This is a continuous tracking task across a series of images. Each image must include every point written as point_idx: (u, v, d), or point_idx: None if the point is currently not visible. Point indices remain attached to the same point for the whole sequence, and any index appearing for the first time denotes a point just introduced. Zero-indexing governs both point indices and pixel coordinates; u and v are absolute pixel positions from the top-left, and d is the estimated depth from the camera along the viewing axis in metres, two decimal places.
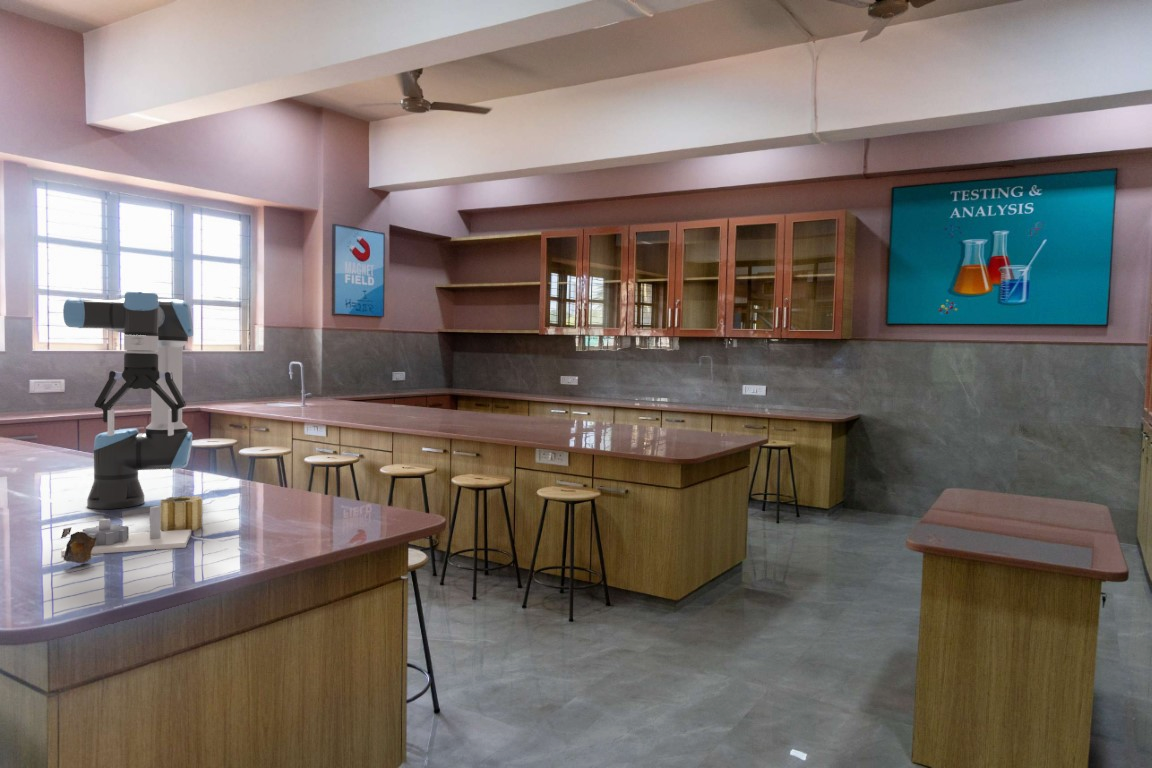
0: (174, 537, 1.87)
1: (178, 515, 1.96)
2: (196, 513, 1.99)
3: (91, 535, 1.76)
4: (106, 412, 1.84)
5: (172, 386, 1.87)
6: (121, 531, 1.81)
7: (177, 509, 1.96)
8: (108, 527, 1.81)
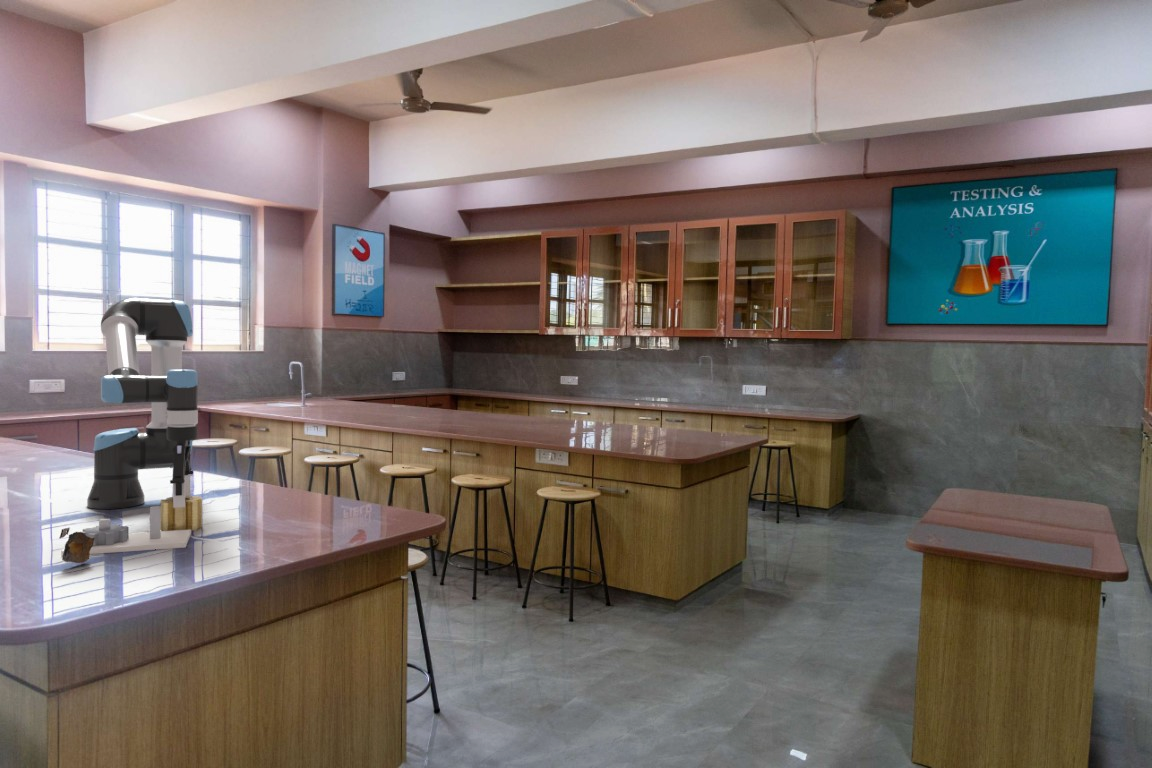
0: (174, 537, 1.87)
1: (178, 515, 1.96)
2: (196, 513, 1.99)
3: (91, 535, 1.76)
4: None
5: None
6: (121, 531, 1.81)
7: (177, 509, 1.96)
8: (108, 527, 1.81)
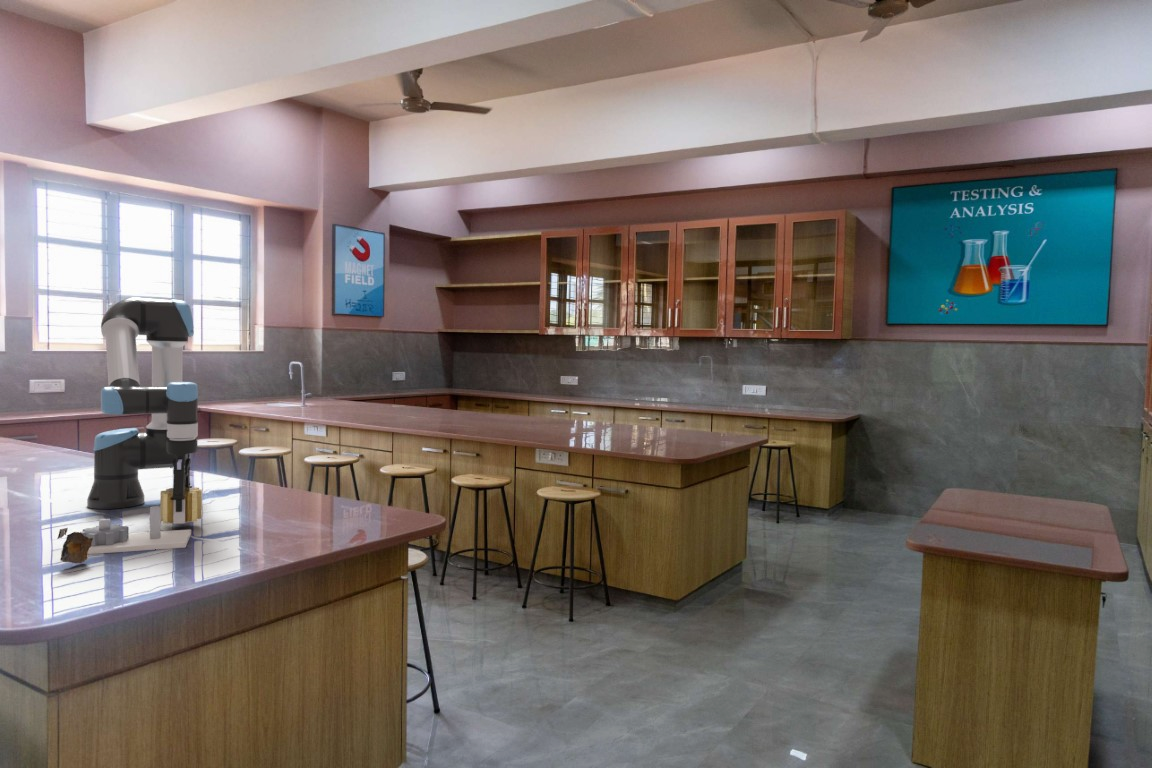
0: (174, 537, 1.87)
1: None
2: (196, 504, 1.99)
3: (91, 535, 1.76)
4: None
5: None
6: (121, 531, 1.81)
7: None
8: (108, 527, 1.81)
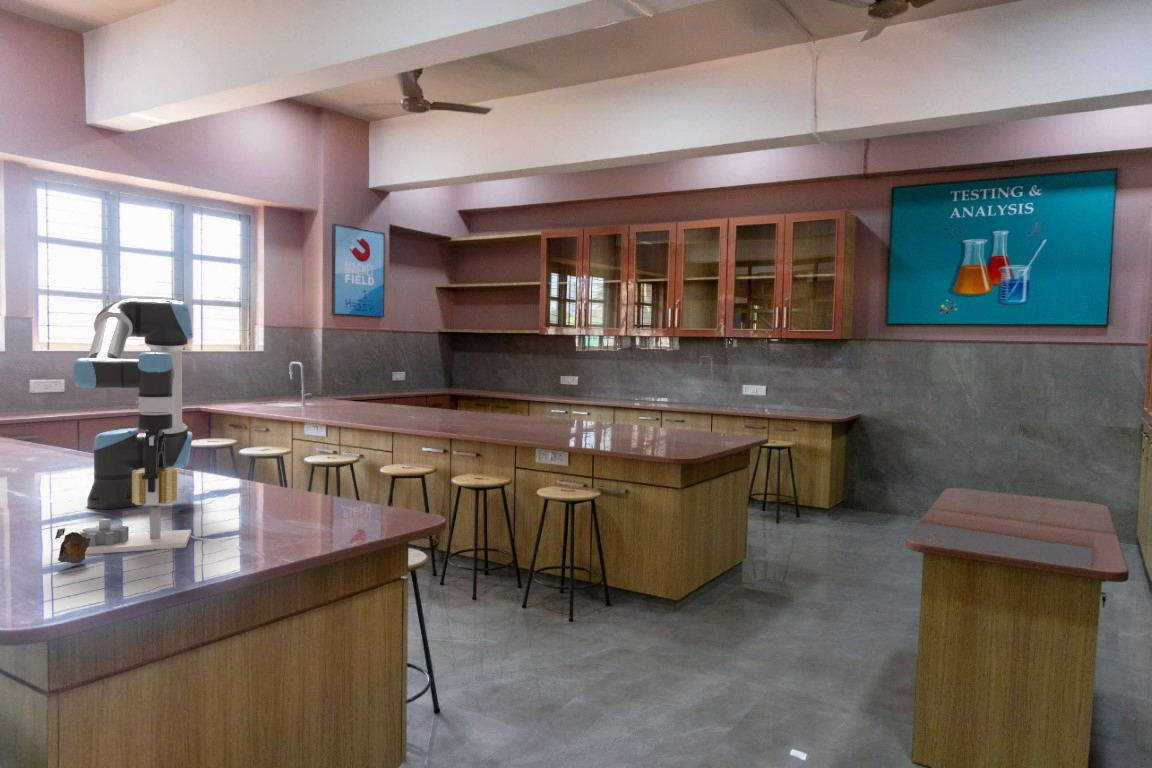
0: (174, 537, 1.87)
1: None
2: (171, 485, 1.83)
3: (91, 535, 1.76)
4: None
5: None
6: (121, 531, 1.81)
7: None
8: (108, 527, 1.81)
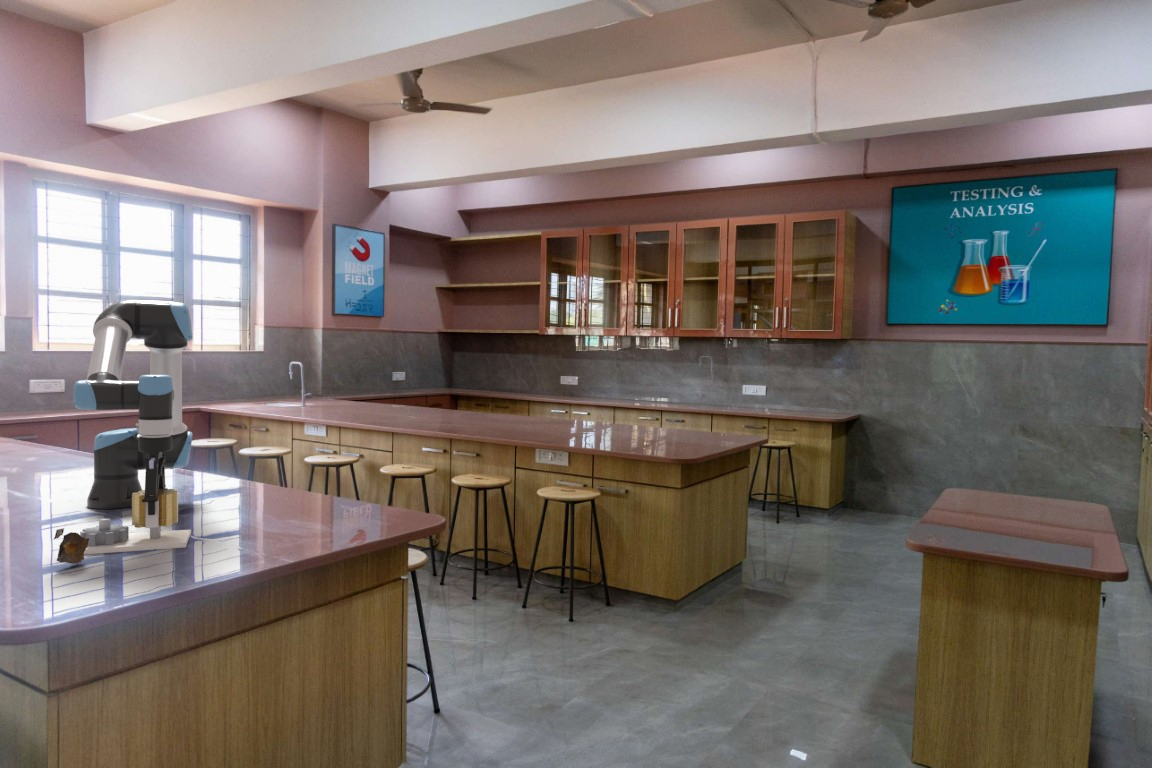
0: (174, 537, 1.87)
1: None
2: (170, 507, 1.84)
3: (91, 535, 1.76)
4: None
5: None
6: (121, 531, 1.81)
7: None
8: (108, 527, 1.81)
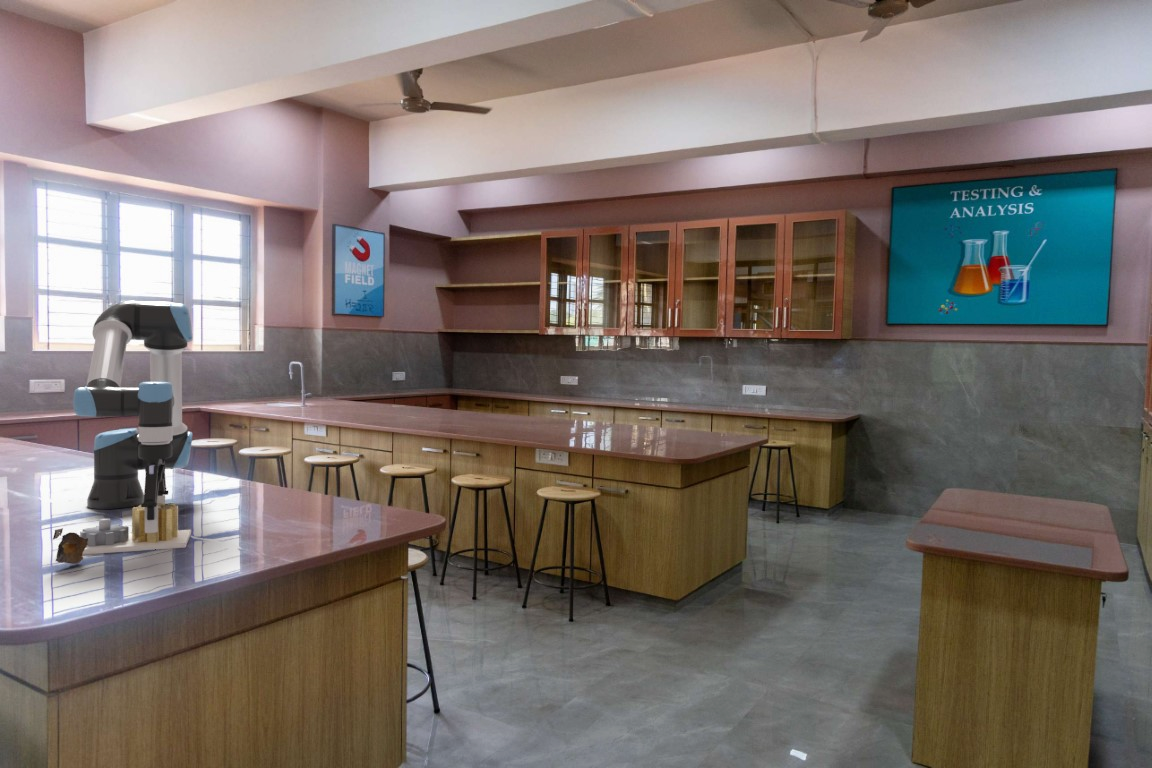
0: (174, 537, 1.87)
1: None
2: (171, 522, 1.84)
3: (91, 535, 1.76)
4: None
5: None
6: (121, 531, 1.81)
7: None
8: (108, 527, 1.81)
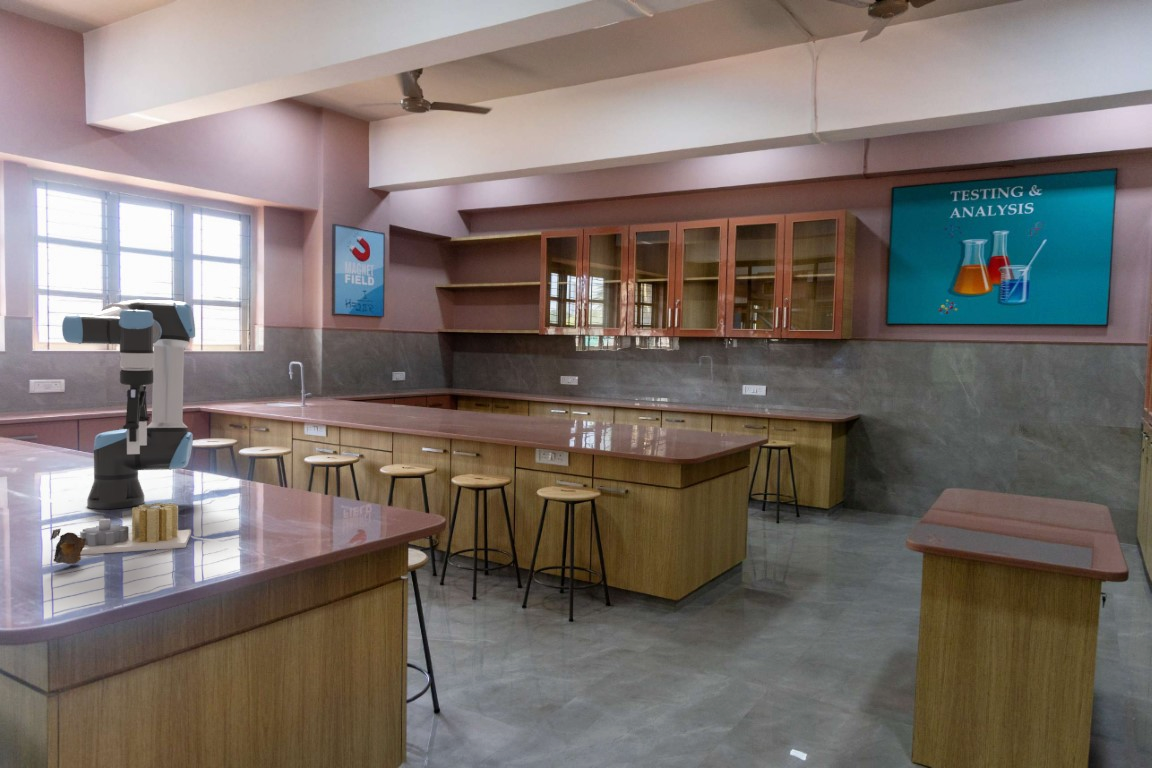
0: (174, 537, 1.87)
1: (151, 524, 1.81)
2: (171, 522, 1.84)
3: (91, 535, 1.76)
4: None
5: None
6: (121, 531, 1.81)
7: (149, 517, 1.81)
8: (108, 527, 1.81)
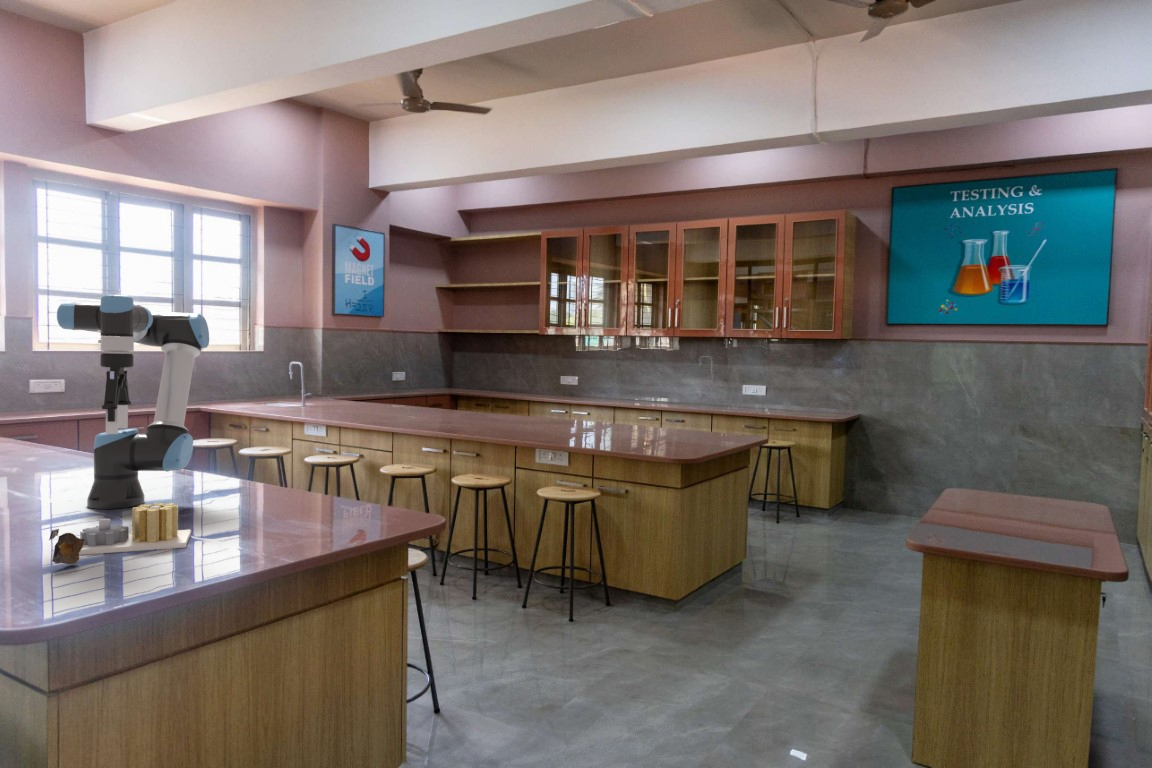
0: (174, 537, 1.87)
1: (151, 524, 1.81)
2: (171, 522, 1.84)
3: (91, 535, 1.76)
4: None
5: None
6: (121, 531, 1.81)
7: (149, 517, 1.81)
8: (108, 527, 1.81)
